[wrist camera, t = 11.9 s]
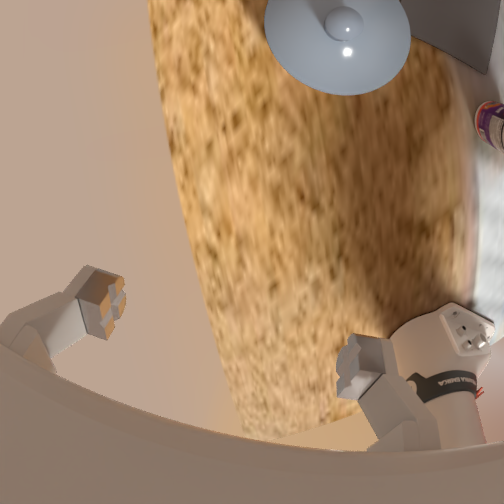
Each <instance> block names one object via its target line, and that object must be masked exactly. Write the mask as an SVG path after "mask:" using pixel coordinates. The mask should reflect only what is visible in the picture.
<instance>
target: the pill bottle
mask: <svg viewBox="0 0 504 504" xmlns="http://www.w3.org/2000/svg"><path fill="white" fill-rule="evenodd" d="M475 128H476V131H477V133H478V135H479V136H480V138H481V139H482V140H483V141H485V142H486V143H488V144H489V145H491V146H493V147H494V148H496V149H498V150H499V151H501V152H502V153H504V105H503V104H501V103H498V102H494V101H486V102H484V103H482V104H481V105H480V106H479V107H478V109H477V111H476V114H475Z"/></svg>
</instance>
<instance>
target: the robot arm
mask: <svg viewBox="0 0 504 504" xmlns="http://www.w3.org/2000/svg"><path fill="white" fill-rule="evenodd" d="M124 285H125V284H124V278H123V277H122V276H119V275H116V274H113V273H110V272H107V271H104V270H101V269H98V268H95V267H92V266H89V265H86V266H84V267H83V268H82V269H81V270H80V272H79V273H78V274H77V275H76V276H75V278H74V279H73V280H72V281H71V282H70V284H69V285H68V286H67V288H66V289H65V290H64V291H63V293H61V292H58V293H55V294H53V295H51V296H48V297H46V298H44V299H41V300H39V301H37V302H35V303H33V304H30V305H28V306H26V307H24V308H21V309H19V310H17V311H15V312H12V313H10V314H9V315H8V316H7V317H6V319H5V320H4V322H2V324H1V325H0V504H504V441H499V442H493V443H488V444H487V441H486V438H485V435H484V431H483V427H482V423H481V419H480V415H479V411H478V408H477V405H476V399H477V398H478V397H479V396H480V395H481V394H482V393H484V391H483V392H481V393H480V391H481V390H482V388H483V387H481V388H480V389H479V390H478V391H477V378H478V377H479V376H480V374H481V373H482V371H483V370H484V368H485V367H486V365H487V364H488V362H489V360H490V357H491V349H490V345H489V342H490V340H491V338H492V336H493V334H494V331H495V326H494V324H493V323H491V322H490V321H488V320H486V319H484V318H482V317H480V316H478V315H476V314H475V313H473V312H471V311H469V310H467V309H465V308H463V307H461V306H459V305H457V304H455V303H448V304H446V305H444V306H443V307H441V308H439V309H438V310H436V311H434V312H432V313H428V314H425V315H422V316H419V317H417V318H415V319H412V320H411V321H409V322H407V323H406V324H404V325H403V326H401V327H400V328H399V329H398V330H397V331H396V332H395V333H394V334H393V335H392V336H391V337H390V339H384V338H377V337H373V336H367V335H361V334H356V333H353V334H351V335H350V337H349V338H348V345H346V346H344V347H342V349H341V351H340V352H339V355H338V358H337V362H336V372H337V373H338V375H339V376H340V378H339V379H338V381H337V397H338V398H345V399H351V400H358V403H359V405H360V407H361V408H362V410H363V412H364V414H365V416H366V417H367V419H368V421H369V423H370V425H371V427H372V428H373V430H374V432H375V434H376V436H377V437H378V439H379V440H378V441H377V442H375V443H374V444H372V445H371V446H370V447H368V448H367V451H344V450H330V449H318V448H309V447H299V446H292V445H284V444H277V443H271V442H265V441H259V440H254V439H248V438H243V437H238V436H234V435H229V434H224V433H220V432H216V431H211V430H207V429H203V428H199V427H195V426H192V425H188V424H185V423H181V422H178V421H174V420H171V419H167V418H164V417H161V416H158V415H155V414H152V413H149V412H146V411H143V410H140V409H137V408H134V407H131V406H129V405H126V404H123V403H121V402H118V401H115V400H113V399H110V398H108V397H105V396H103V395H100V394H98V393H96V392H93V391H91V390H88V389H86V388H84V387H81V386H79V385H77V384H75V383H73V382H70V381H69V380H66V379H64V378H62V377H60V376H58V375H56V373H57V371H56V368H55V366H54V364H53V362H52V360H51V358H52V357H54V356H55V355H57V354H59V353H60V352H61V351H63V350H65V349H66V348H68V347H69V346H71V345H72V344H74V343H75V342H77V341H78V340H80V339H81V338H83V337H85V336H86V335H87V334H90V335H93V336H96V337H98V338H101V339H104V340H108V338H109V336H110V334H111V333H112V331H113V330H114V328H115V326H114V321H115V320H117V319H119V318H120V317H121V315H122V313H123V311H124V308H125V305H126V294H125V292H124V291H123V290H122V288H123V287H124ZM479 393H480V394H479ZM478 394H479V395H478Z"/></svg>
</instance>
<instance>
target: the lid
mask: <svg viewBox="0 0 504 504" xmlns="http://www.w3.org/2000/svg"><path fill="white" fill-rule="evenodd" d="M264 28H265V34H266V38H267V41H268V44H269V46H270V49H271V51H272V53H273V54H274V56H275V58H276V59H277V61H278V62H279V63H280V64H281V66H282V67H283V68H284V69H285V70H286V71H287V72H288V73H289V74H291V75H292V76H293V77H294V78H296V79H297V80H299V81H300V82H302V83H303V84H305V85H307V86H309V87H311V88H313V89H316V90H319V91H322V92H325V93H330V94H336V95H358V94H363V93H367V92H371V91H373V90H376V89H378V88H380V87H382V86H383V85H385V84H387V83H388V82H389V81H391V80H392V79H393V78H394V77H395V76H396V75H397V74H398V73H399V71H400V70H401V68H402V67H403V65H404V63H405V61H406V59H407V56H408V54H409V49H410V44H411V33H410V26H409V22H408V18H407V15H406V13H405V11H404V9H403V7H402V5H401V3H400V2H399V0H269V1H268V3H267V6H266V10H265V16H264Z"/></svg>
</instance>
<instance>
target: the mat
mask: <svg viewBox="0 0 504 504" xmlns="http://www.w3.org/2000/svg"><path fill="white" fill-rule="evenodd" d="M500 1H501V0H399V2H400V3H401V5H402V7H403V9H404V11H405V13H406V15H407V18H408V22H409V26H410V33H411V36H413V37H415V38H417V39H420V40H422V41H424V42H426V43H428V44H430V45H432V46H434V47H436V48H438V49H440V50H442V51H444V52H446V53H448V54H449V55H451V56H453V57H455V58H457V59H459V60H460V61H462V62H464V63H465V64H467V65H469V66H471V67H472V68H474V69H476V70H477V71H479V72H480V73H482V74H484V75H486V73H487V69H488V65H489V61H490V56H491V52H492V47H493V43H494V38H495V33H496V27H497V21H498V15H499V8H500Z"/></svg>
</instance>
